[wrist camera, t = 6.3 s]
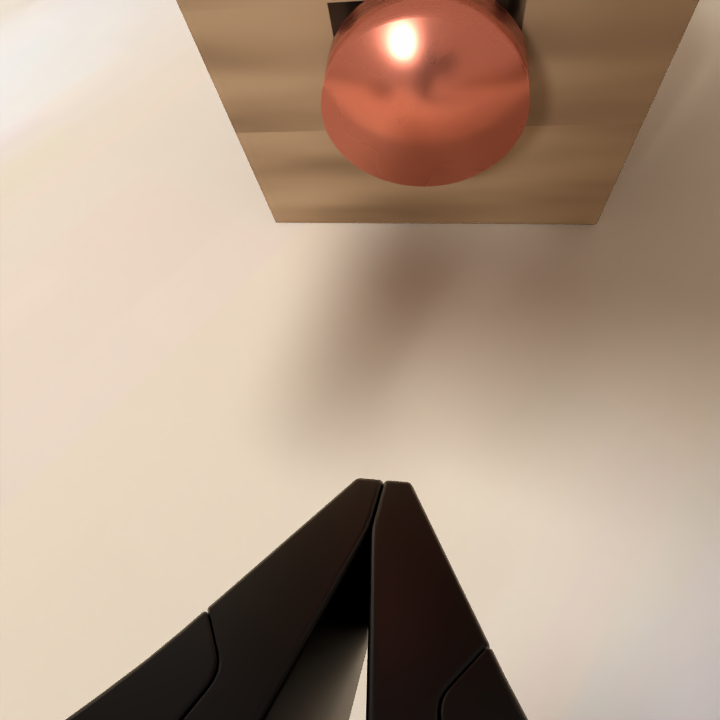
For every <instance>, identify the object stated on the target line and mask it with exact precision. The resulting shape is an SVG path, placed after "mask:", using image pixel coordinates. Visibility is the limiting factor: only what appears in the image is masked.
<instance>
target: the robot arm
mask: <svg viewBox="0 0 720 720" xmlns="http://www.w3.org/2000/svg"><path fill="white" fill-rule="evenodd" d="M367 646H368V659H367V703H366V720H528V719H527V717H526V715H525V713H524V711H523V709H522V707H521V706H520V704H519V702H518V700H517V698H516V696H515V694H514V692H513V690H512V688H511V687H510V685H509V683H508V681H507V679H506V677H505V675H504V673H503V671H502V669H501V667H500V665H499V663H498V661H497V659H496V657H495V655H494V652H493V651H492V650H491V649H489V643H488V641H487V639H486V637H485V635H484V633H483V630H482V628H481V626H480V624H479V622H478V620H477V618H476V616H475V614H474V612H473V610H472V608H471V606H470V604H469V602H468V600H467V598H466V595H465V593H464V591H463V589H462V587H461V585H460V583H459V581H458V579H457V577H456V575H455V573H454V571H453V569H452V567H451V565H450V563H449V560H448V558H447V556H446V554H445V552H444V550H443V548H442V546H441V544H440V542H439V540H438V538H437V536H436V534H435V532H434V530H433V528H432V525H431V523H430V521H429V519H428V517H427V515H426V513H425V511H424V509H423V507H422V505H421V503H420V501H419V499H418V497H417V495H416V493H415V490H414V488H413V486H412V485H411V484H410V483H408V482H399V481H386V482H385V483H384V484H383V482H382V481H381V480H374V479H363V478H359V479H356V480H355V481H354V482H352V483H351V484H350V485H349V486H348V487H347V488H345V489H344V490H343V491H342V492H341V493H340V494H339V495H337V496H336V497H335V498H334V499H333V500H332V501H330V502H329V503H328V504H327V505H326V506H325V507H324V508H322V509H321V510H320V511H319V512H318V513H317V514H316V515H314V516H313V517H312V518H311V519H310V520H309V521H307V522H306V523H305V524H304V525H303V526H302V527H301V528H299V529H298V530H297V531H296V532H295V533H294V534H293V535H291V536H290V537H289V538H288V539H287V540H286V541H284V542H283V543H282V544H281V545H280V546H279V547H278V548H276V549H275V550H274V551H273V552H272V553H271V554H270V555H268V556H267V557H266V558H265V559H264V560H263V561H261V562H260V563H259V564H258V565H257V566H256V567H255V568H253V569H252V570H251V571H250V572H249V573H248V574H246V575H245V576H244V577H243V578H242V579H241V580H240V581H238V582H237V583H236V584H235V585H234V586H233V587H232V588H230V589H229V590H228V591H227V592H226V593H225V594H223V595H222V596H221V597H220V598H219V599H218V600H217V601H215V602H214V603H213V604H212V605H211V606H210V607H209V608H208V613H207V612H202V613H201V614H200V615H199V616H198V617H197V618H196V619H194V620H193V621H192V622H191V623H190V624H189V625H187V626H186V627H185V628H184V629H183V630H182V631H180V632H179V633H178V634H177V635H176V636H174V637H173V638H172V639H171V640H170V641H168V642H167V643H166V644H165V645H164V646H162V647H161V648H160V649H159V650H157V651H156V652H155V653H154V654H153V655H151V656H150V657H149V658H148V659H147V660H145V661H144V662H143V663H141V664H140V665H139V666H137V667H136V668H135V669H133V670H132V671H131V672H129V673H128V674H127V675H126V676H124V677H123V678H122V679H120V680H119V681H118V682H116V683H115V684H114V685H112V686H111V687H110V688H108V689H107V690H106V691H104V692H103V693H102V694H100V695H99V696H98V697H96V698H95V699H93V700H92V701H91V702H89V703H88V704H87V705H85V706H84V707H82V708H81V709H80V710H78V711H77V712H76V713H74V714H73V715H71V716H70V717H69V718H67V719H66V720H349V717H350V713H351V709H352V705H353V701H354V698H355V694H356V690H357V686H358V682H359V678H360V674H361V670H362V666H363V662H364V658H365V654H366V650H367Z"/></svg>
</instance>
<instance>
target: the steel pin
mask: <svg viewBox="0 0 720 720" xmlns="http://www.w3.org/2000/svg"><path fill="white" fill-rule="evenodd" d="M529 106H530V86H529V55H528V50H527V46H526V42H525V39H524V37H523V34H522V32H521V30H520V28H519V26H518V25H517V23H516V21H515V20H514V19H513V17H512V16H511V15H510V14H509V13H508V11H507V10H506V9H505V8H504V7H502V6H501V5H500V4H499V3H498V2H497V1H496V0H365V1H364V2H363V3H361V4H360V5H359V6H358V7H356V8H355V9H354V10H353V11H352V12H351V13H350V15H349V16H348V17H347V18H346V19H345V20H344V22H343V23H342V25H341V26H340V28H339V29H338V31H337V33H336V35H335V37H334V39H333V41H332V44H331V47H330V50H329V54H328V60H327V66H326V71H325V77H324V83H323V89H322V95H321V113H322V119H323V122H324V125H325V129H326V131H327V133H328V135H329V137H330V139H331V141H332V142H333V144H334V145H335V147H336V148H337V149H338V150H339V151H340V153H341V154H342V155H343V156H344V157H345V158H346V159H347V160H349V161H350V162H351V163H352V164H354V165H355V166H356V167H358V168H359V169H361V170H363V171H364V172H366V173H368V174H370V175H372V176H374V177H377V178H379V179H382V180H385V181H388V182H391V183H396V184H400V185H407V186H421V187H427V186H440V185H447V184H451V183H456V182H459V181H462V180H465V179H468V178H471V177H473V176H475V175H478V174H480V173H482V172H483V171H485V170H487V169H489V168H490V167H492V166H493V165H494V164H496V163H497V162H498V161H500V160H501V159H502V158H503V157H504V156H505V155H506V154H507V153H508V152H509V151H510V150H511V149H512V147H513V146H514V145H515V144H516V142H517V140H518V139H519V137H520V136H521V134H522V132H523V129H524V127H525V125H526V122H527V118H528V115H529Z"/></svg>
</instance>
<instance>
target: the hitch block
mask: <svg viewBox="0 0 720 720" xmlns="http://www.w3.org/2000/svg"><path fill="white" fill-rule="evenodd" d="M176 1H177V3H178V5H179V8H180V10H181V12H182V14H183V16H184V19H185V21H186V23H187V25H188V28H189V30H190V32H191V34H192V36H193V39H194V41H195V43H196V45H197V48H198V50H199V52H200V54H201V56H202V59H203V61H204V63H205V65H206V68H207V70H208V72H209V74H210V77H211V79H212V81H213V83H214V85H215V88H216V90H217V92H218V94H219V97H220V99H221V101H222V103H223V105H224V108H225V110H226V112H227V114H228V117H229V119H230V121H231V123H232V125H233V128H234V130H235V132H236V134H237V137H238V139H239V141H240V143H241V146H242V148H243V150H244V152H245V154H246V157H247V159H248V161H249V163H250V166H251V168H252V170H253V172H254V174H255V177H256V179H257V181H258V183H259V186H260V188H261V190H262V192H263V194H264V197H265V199H266V201H267V203H268V206H269V208H270V210H271V212H272V215H273V217H274V219H275V221H276V222H293V223H503V224H596V223H597V221H598V219H599V217H600V215H601V213H602V210H603V208H604V206H605V204H606V202H607V200H608V197H609V195H610V193H611V191H612V189H613V186H614V184H615V182H616V180H617V178H618V176H619V173H620V171H621V169H622V167H623V165H624V163H625V160H626V158H627V156H628V154H629V152H630V149H631V147H632V145H633V143H634V141H635V139H636V136H637V134H638V132H639V130H640V128H641V126H642V123H643V121H644V119H645V117H646V115H647V113H648V110H649V108H650V106H651V104H652V102H653V99H654V97H655V95H656V93H657V91H658V89H659V86H660V84H661V82H662V80H663V78H664V76H665V73H666V71H667V69H668V67H669V65H670V63H671V60H672V58H673V56H674V54H675V52H676V49H677V47H678V45H679V43H680V41H681V39H682V36H683V34H684V32H685V30H686V28H687V26H688V23H689V21H690V19H691V17H692V15H693V13H694V10H695V8H696V6H697V4H698V2H699V0H496V1H497V2H498V3H499V4H500V5H501V6H502V7H504V8H505V9H506V10H507V11H508V13H509V14H510V15H511V16H512V17H513V19H514V20H515V21H516V23H517V25H518V26H519V28H520V30H521V32H522V34H523V37H524V39H525V42H526V46H527V50H528V55H529V86H530V106H529V115H528V118H527V122H526V125H525V127H524V129H523V132H522V134H521V136H520V137H519V139H518V140H517V142H516V144H515V145H514V146H513V147H512V149H511V150H510V151H509V152H508V153H507V154H506V155H505V156H504V157H503V158H502V159H501V160H500V161H498V162H497V163H496V164H494V165H493V166H492V167H490V168H489V169H487V170H485V171H483V172H482V173H480V174H478V175H475V176H473V177H471V178H468V179H465V180H462V181H459V182H456V183H451V184H447V185H440V186H427V187H421V186H407V185H400V184H396V183H391V182H388V181H385V180H382V179H379V178H377V177H374V176H372V175H370V174H368V173H366V172H364V171H363V170H361V169H359V168H358V167H356V166H355V165H354V164H352V163H351V162H350V161H349V160H347V159H346V158H345V157H344V156H343V155H342V154H341V153H340V151H339V150H338V149H337V148H336V147H335V145H334V144H333V142H332V141H331V139H330V137H329V135H328V133H327V131H326V129H325V125H324V122H323V119H322V113H321V95H322V89H323V83H324V77H325V71H326V66H327V60H328V54H329V50H330V47H331V44H332V41H333V39H334V37H335V35H336V33H337V31H338V29H339V28H340V26H341V25H342V23H343V22H344V20H345V19H346V18H347V17H348V16H349V15H350V13H351V12H352V11H353V10H354V9H355V8H356V7H358V6H359V5H360V4H361V3H363V2H364V1H365V0H176Z"/></svg>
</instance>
